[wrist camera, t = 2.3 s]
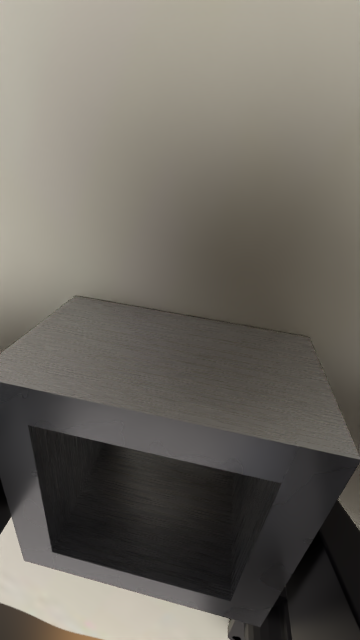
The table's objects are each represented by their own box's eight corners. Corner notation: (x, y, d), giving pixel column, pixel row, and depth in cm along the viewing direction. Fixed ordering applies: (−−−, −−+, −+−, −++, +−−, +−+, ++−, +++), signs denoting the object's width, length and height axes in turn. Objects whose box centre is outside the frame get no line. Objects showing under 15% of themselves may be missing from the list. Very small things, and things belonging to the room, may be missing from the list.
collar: (253, 488, 12) (259, 627, 8) (85, 449, 12) (23, 560, 9) (309, 337, 8) (361, 459, 5) (75, 295, 9) (-29, 375, 6)
